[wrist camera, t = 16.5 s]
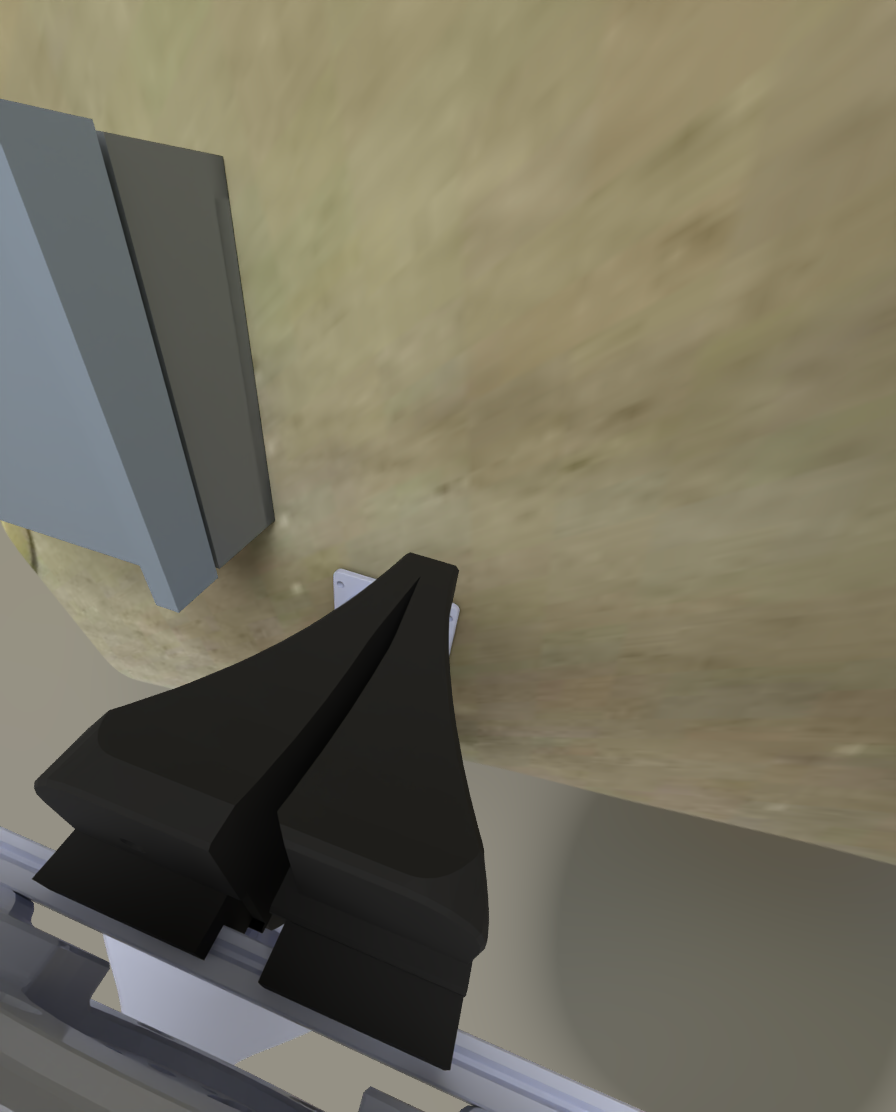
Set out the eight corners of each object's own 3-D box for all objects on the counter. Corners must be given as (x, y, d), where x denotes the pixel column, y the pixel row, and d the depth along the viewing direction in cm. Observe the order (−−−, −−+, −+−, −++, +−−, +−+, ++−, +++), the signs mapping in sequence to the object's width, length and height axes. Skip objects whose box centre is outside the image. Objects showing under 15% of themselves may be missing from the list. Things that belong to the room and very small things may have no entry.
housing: (274, 520, 25) (219, 568, 22) (51, 453, 27) (-34, 487, 24) (222, 156, 15) (103, 131, 12) (-124, 94, 17) (-318, 57, 14)
